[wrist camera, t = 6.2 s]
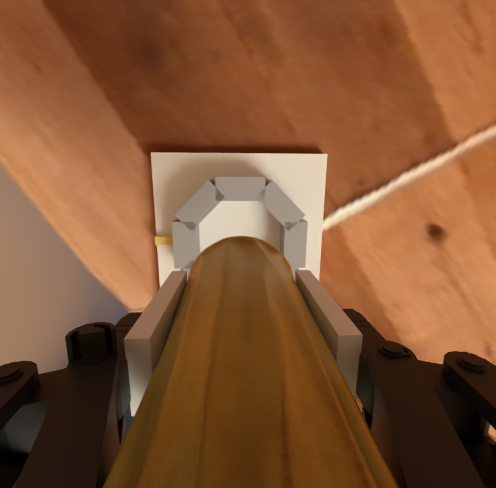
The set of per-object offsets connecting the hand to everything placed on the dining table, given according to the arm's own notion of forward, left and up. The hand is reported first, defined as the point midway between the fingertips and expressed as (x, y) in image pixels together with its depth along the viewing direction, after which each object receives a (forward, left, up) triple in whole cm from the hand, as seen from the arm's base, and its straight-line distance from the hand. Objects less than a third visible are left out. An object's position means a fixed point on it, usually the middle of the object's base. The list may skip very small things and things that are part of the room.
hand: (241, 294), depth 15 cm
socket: (0, 0, -14) cm, 14 cm away
